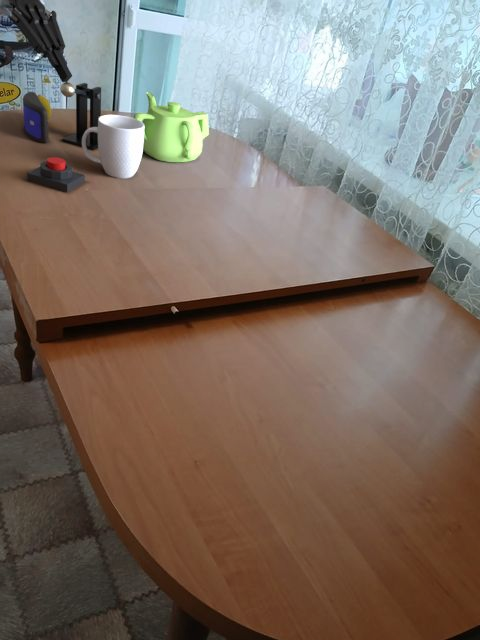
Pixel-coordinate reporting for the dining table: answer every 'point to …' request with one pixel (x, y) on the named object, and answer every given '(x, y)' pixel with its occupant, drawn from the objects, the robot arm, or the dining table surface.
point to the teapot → (172, 131)
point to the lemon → (45, 105)
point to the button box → (56, 177)
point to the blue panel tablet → (35, 118)
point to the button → (56, 163)
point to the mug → (117, 144)
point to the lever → (74, 90)
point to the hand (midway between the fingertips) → (67, 79)
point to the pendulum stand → (82, 118)
